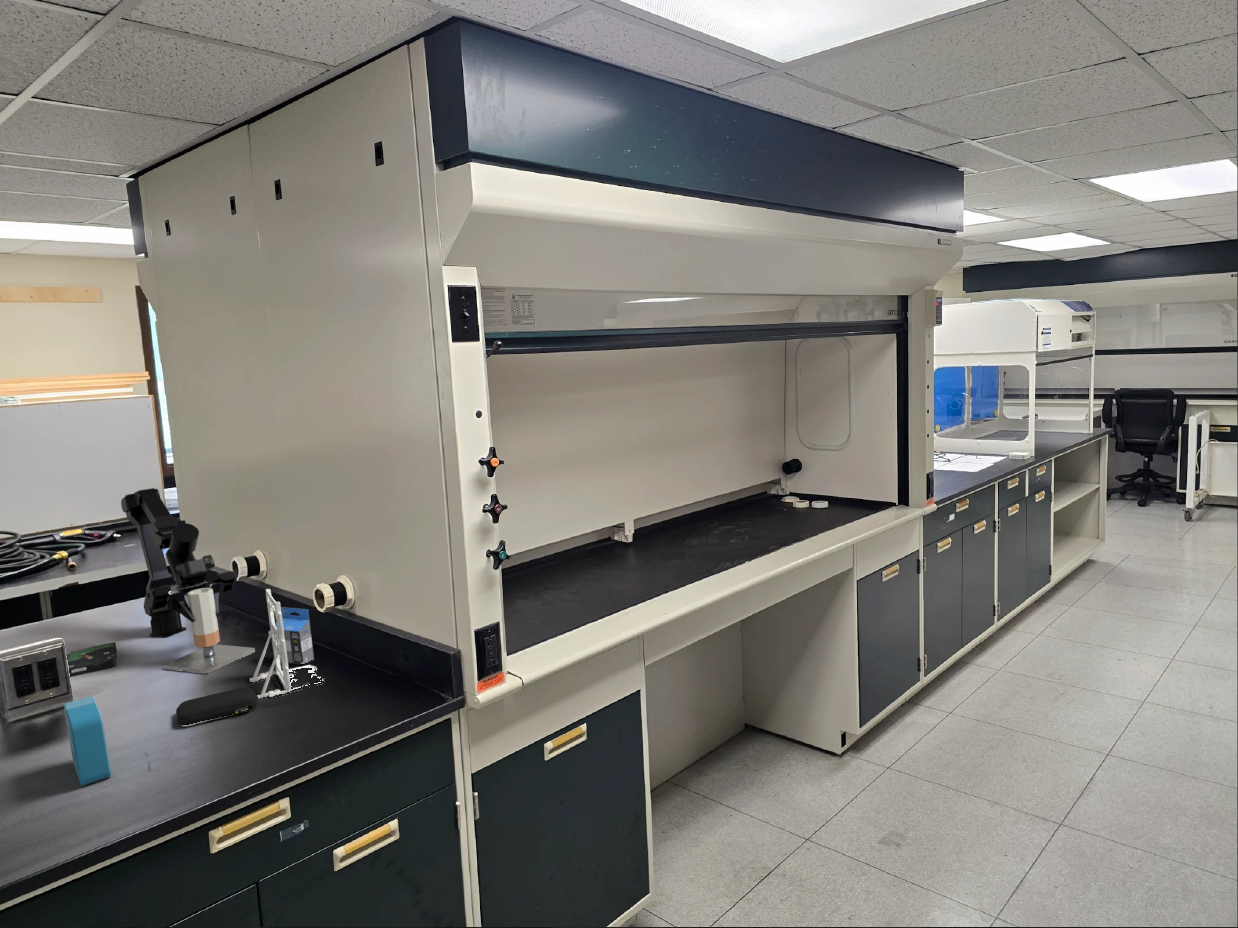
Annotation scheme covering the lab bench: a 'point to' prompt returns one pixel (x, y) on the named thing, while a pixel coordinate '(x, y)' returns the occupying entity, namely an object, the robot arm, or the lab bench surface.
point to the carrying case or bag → (216, 706)
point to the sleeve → (204, 617)
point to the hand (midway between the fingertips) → (205, 618)
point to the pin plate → (209, 658)
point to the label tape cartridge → (297, 635)
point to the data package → (87, 740)
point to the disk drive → (92, 659)
